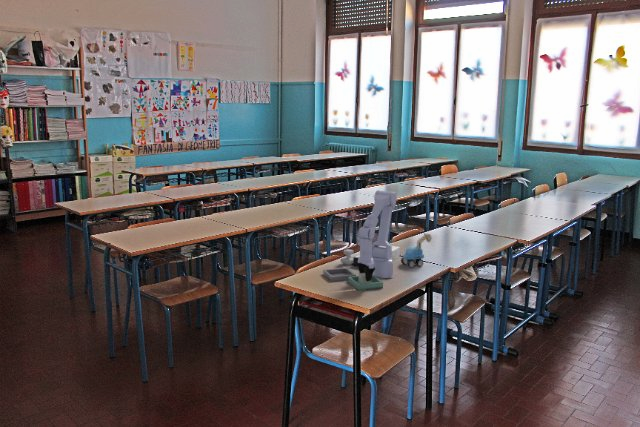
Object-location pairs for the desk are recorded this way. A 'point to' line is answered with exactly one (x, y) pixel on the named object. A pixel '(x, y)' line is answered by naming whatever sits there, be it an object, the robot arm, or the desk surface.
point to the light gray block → (363, 278)
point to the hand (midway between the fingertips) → (365, 278)
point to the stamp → (347, 257)
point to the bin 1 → (338, 274)
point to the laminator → (394, 248)
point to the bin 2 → (366, 286)
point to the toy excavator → (415, 253)
